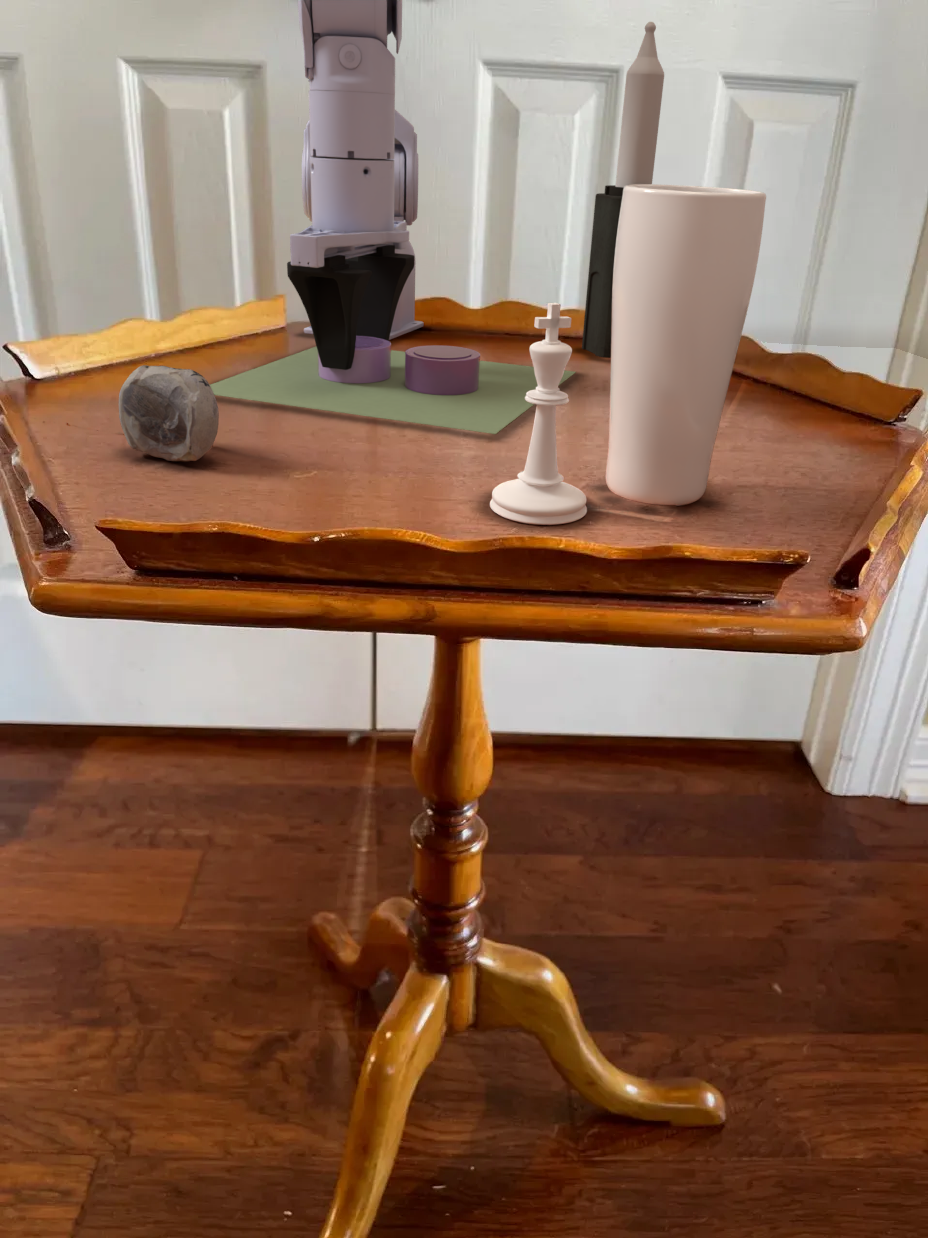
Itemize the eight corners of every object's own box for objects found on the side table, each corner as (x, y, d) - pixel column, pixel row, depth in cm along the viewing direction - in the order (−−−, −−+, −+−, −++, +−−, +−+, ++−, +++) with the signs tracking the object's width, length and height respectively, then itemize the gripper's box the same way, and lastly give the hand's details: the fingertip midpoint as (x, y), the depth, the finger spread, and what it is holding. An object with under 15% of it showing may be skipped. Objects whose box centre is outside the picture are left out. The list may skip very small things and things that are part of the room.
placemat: (326, 345, 85) (326, 342, 85) (575, 375, 78) (576, 371, 78) (191, 395, 68) (191, 391, 68) (495, 438, 61) (495, 433, 61)
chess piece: (604, 519, 49) (627, 311, 45) (513, 529, 47) (528, 313, 43) (559, 488, 53) (576, 294, 49) (474, 496, 51) (484, 296, 47)
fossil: (107, 455, 55) (96, 364, 53) (146, 440, 58) (137, 353, 56) (204, 472, 53) (197, 379, 51) (240, 456, 56) (234, 367, 54)
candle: (577, 348, 88) (606, 21, 77) (629, 347, 89) (665, 26, 78) (601, 361, 84) (635, 15, 72) (655, 359, 85) (697, 21, 74)
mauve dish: (421, 374, 75) (422, 341, 74) (488, 383, 73) (490, 349, 72) (392, 389, 70) (392, 354, 69) (463, 398, 69) (465, 362, 68)
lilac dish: (338, 364, 77) (338, 331, 76) (402, 372, 75) (402, 339, 74) (305, 377, 72) (304, 343, 71) (372, 386, 71) (372, 351, 70)
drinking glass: (580, 472, 56) (608, 181, 49) (698, 474, 56) (741, 187, 50) (604, 514, 50) (640, 189, 43) (735, 516, 50) (790, 196, 44)
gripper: (359, 162, 60) (360, 386, 66) (445, 160, 72) (440, 348, 78) (257, 156, 62) (268, 374, 68) (358, 155, 74) (359, 339, 80)
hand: (354, 360), depth 73 cm, fingers closed on lilac dish, 5 cm apart
